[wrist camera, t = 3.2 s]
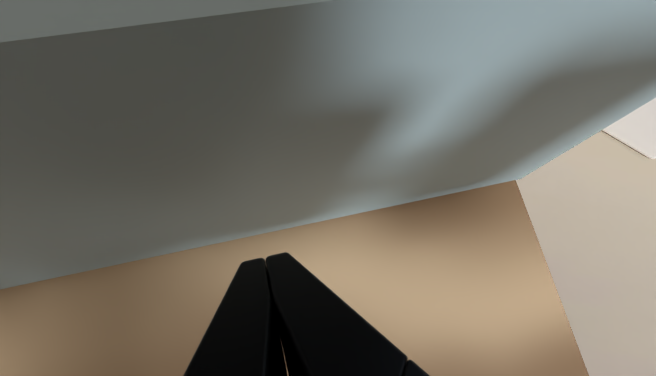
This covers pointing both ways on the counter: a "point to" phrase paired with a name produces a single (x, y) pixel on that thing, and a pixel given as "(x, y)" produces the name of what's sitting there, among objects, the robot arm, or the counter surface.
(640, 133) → the jar
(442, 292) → the cart bed
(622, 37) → the grey flat slab
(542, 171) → the counter surface
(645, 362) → the counter surface
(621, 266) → the counter surface
